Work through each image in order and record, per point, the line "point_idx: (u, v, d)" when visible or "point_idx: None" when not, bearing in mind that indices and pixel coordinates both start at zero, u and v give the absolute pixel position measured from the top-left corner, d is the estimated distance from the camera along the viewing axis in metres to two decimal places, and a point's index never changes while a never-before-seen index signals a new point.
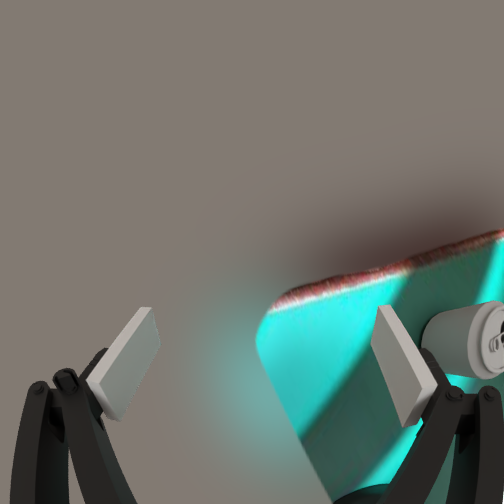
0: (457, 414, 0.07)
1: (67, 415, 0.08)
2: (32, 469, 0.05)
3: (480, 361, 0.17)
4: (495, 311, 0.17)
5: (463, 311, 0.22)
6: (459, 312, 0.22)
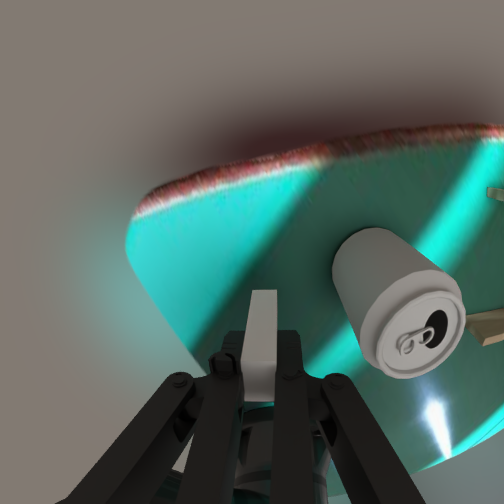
0: (302, 390, 0.10)
1: (209, 400, 0.09)
2: (126, 467, 0.06)
3: None
4: (420, 300, 0.13)
5: (382, 259, 0.17)
6: (378, 256, 0.17)
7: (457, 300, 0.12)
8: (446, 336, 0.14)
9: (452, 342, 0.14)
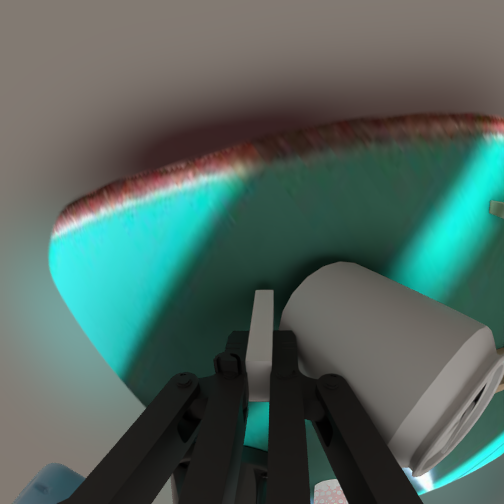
0: (298, 390, 0.10)
1: (213, 400, 0.09)
2: (129, 468, 0.06)
3: (406, 466, 0.07)
4: (483, 385, 0.06)
5: (392, 324, 0.10)
6: (380, 318, 0.10)
7: None
8: (479, 400, 0.08)
9: (483, 403, 0.08)
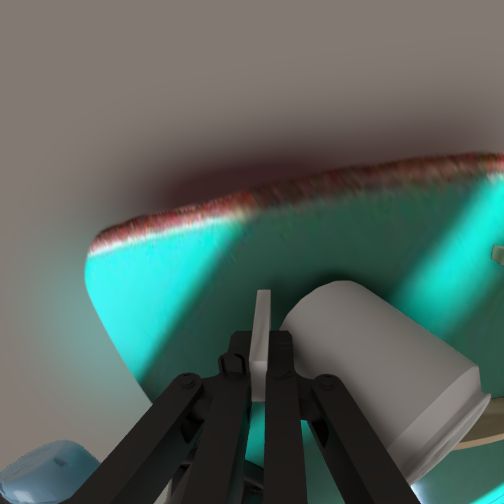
0: (293, 390, 0.10)
1: (217, 400, 0.09)
2: (132, 468, 0.06)
3: None
4: (472, 414, 0.06)
5: (399, 346, 0.10)
6: (388, 338, 0.11)
7: (489, 400, 0.08)
8: (454, 435, 0.09)
9: (456, 439, 0.09)
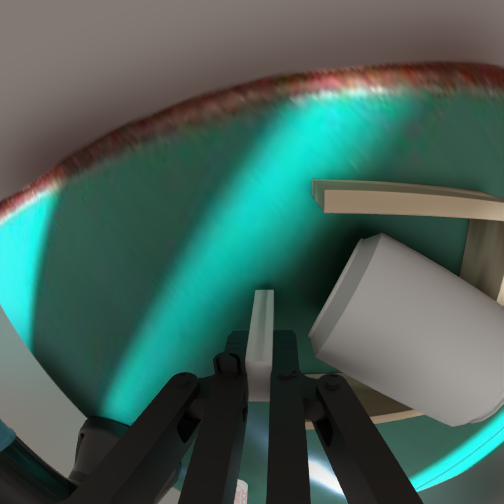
0: (298, 390, 0.10)
1: (213, 400, 0.09)
2: (129, 468, 0.06)
3: (490, 406, 0.08)
4: None
5: (480, 293, 0.11)
6: (470, 287, 0.11)
7: None
8: None
9: None
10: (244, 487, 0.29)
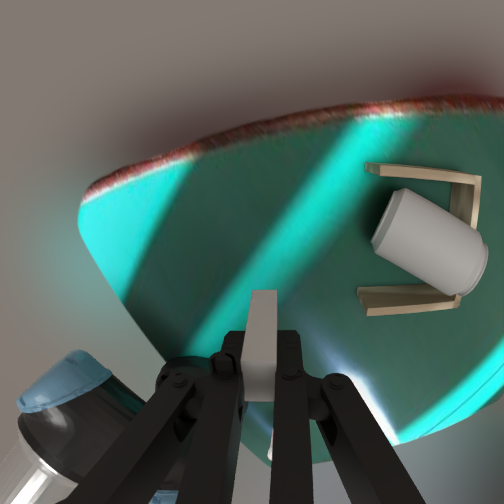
0: (302, 390, 0.10)
1: (209, 399, 0.09)
2: (126, 467, 0.06)
3: (473, 277, 0.20)
4: None
5: (457, 218, 0.22)
6: (451, 214, 0.23)
7: None
8: None
9: None
10: None
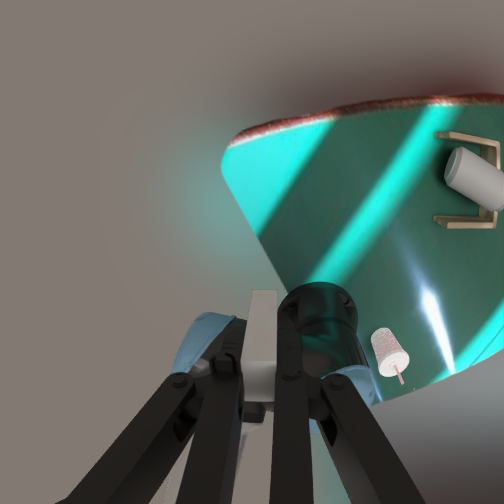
0: (302, 390, 0.10)
1: (209, 400, 0.09)
2: (126, 467, 0.06)
3: None
4: None
5: None
6: None
7: None
8: None
9: None
10: None
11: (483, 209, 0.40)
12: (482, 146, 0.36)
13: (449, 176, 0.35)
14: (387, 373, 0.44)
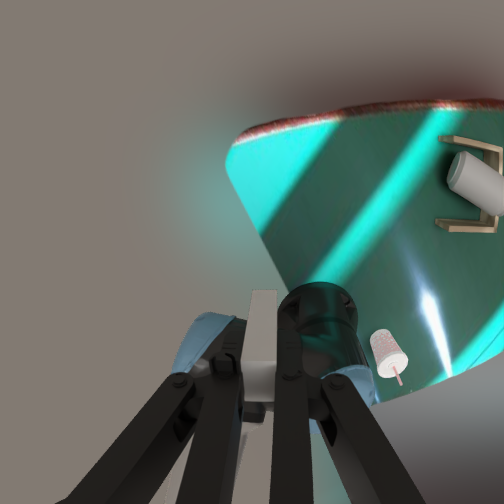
0: (302, 390, 0.10)
1: (209, 399, 0.09)
2: (126, 467, 0.06)
3: None
4: None
5: (493, 169, 0.32)
6: (490, 167, 0.33)
7: None
8: None
9: None
10: (391, 335, 0.50)
11: (484, 213, 0.40)
12: (485, 151, 0.37)
13: (452, 180, 0.36)
14: (386, 374, 0.44)
